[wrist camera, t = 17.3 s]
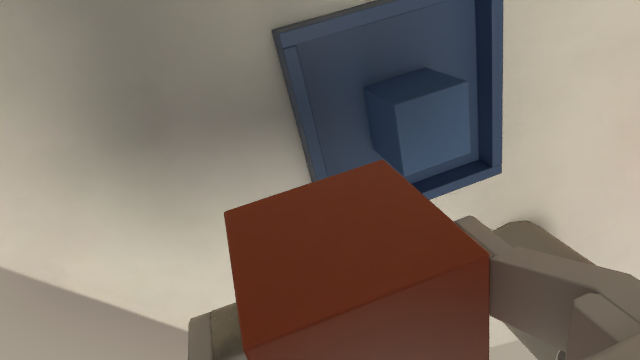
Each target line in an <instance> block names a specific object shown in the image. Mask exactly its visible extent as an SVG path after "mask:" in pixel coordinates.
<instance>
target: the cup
mask: <svg viewBox="0 0 640 360" xmlns="http://www.w3.org/2000/svg"><path fill="white" fill-rule="evenodd" d="M493 232H494V233H495V234H496V235H498V236H499V237H500V238H501V239H503V240H504V241H505V242H506V243H508V244H509V245H510V246H511V247H513V248H514V249H515V248H517V247H522V248H526V249H530V250H534V251H538V252H543V253H547V254H551V255H555V256H559V257H563V258H567V259H571V260H575V261H579V262H583V263H587V264H591V265H595V264H593V263H592V262H591V261H589V260H588V259H586V258H585V257H583V256H582V255H580V254H579V253H577V252H576V251H574V250H573V249H572V248H570V247H569V246H567V245H566V244H564V243H563V242H561V241H560V240H558V239H557V238H555V237H554V236H552V235H551V234H550V233H548V232H547V231H545V230H544V229H542V228H541V227H539V226H537V225H535V224H533V223H531V222H529V221H520V222H511V223H508V224H506V225H504V226H503V227H501V228H499V229H497V230H495V231H493ZM595 266H596V265H595ZM503 323H504V322H503ZM504 324H505V325H506V326H507V327H508V328H509V329H510V330H511V331H512V332H513V333H514V335H515V336H516V337H517V338H518V339H519V340H520V341H521V342H522V343H523V344H524V345H525V346H526V347H527V348H528V349H529V351H530V352H531V353H532V354H533V355H534V356H535V357H536V358H537V359H538V360H565V356H566V352H564V351H562V350H560V349H558V348H556V347H554V346H552V345H549V344H547V343H545V342H543V341H541V340H539V339H537V338H535V337H533V336H531V335H529V334H527V333H525V332H523V331H521V330H519V329H517V328H515V327H512V326H510V325H508V324H506V323H504Z"/></svg>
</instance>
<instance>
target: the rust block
mask: <svg viewBox="0 0 640 360" xmlns="http://www.w3.org/2000/svg"><path fill="white" fill-rule="evenodd" d="M224 218H225V225H226V232H227V239H228V246H229V254H230V261H231V268H232V275H233V282H234V289H235V296H236V304H237V311H238V318H239V325H240V332H241V339H242V347H243V351H244V353H245V355H246V357H247V360H489V253H488V252H487V251H486V250H485V249H484V248H482V247H481V246H480V245H479V244H478V243H477V242H476V241H475V240H473V239H472V238H471V237H470V236H469V235H468V234H467V233H466V232H464V231H463V230H462V229H461V228H460V227H459V226H458V225H457V224H455V223H454V222H453V221H452V220H451V219H450V218H449V217H448V216H446V215H445V214H444V213H443V212H442V211H441V210H440V209H439V208H437V207H436V206H435V205H434V204H433V203H432V202H431V201H430V200H428V199H427V198H426V197H425V196H424V195H423V194H422V193H421V192H419V191H418V190H417V189H416V188H415V187H414V186H413V185H412V184H410V183H409V182H408V181H407V180H406V179H405V178H404V177H403V176H401V175H400V174H399V173H398V172H397V171H396V170H395V169H393V168H392V167H391V166H390V165H389V164H388V163H387V162H386V161H384V160H379V161H376V162H373V163H370V164H367V165H364V166H361V167H358V168H355V169H352V170H349V171H346V172H343V173H340V174H337V175H334V176H330V177H327V178H324V179H321V180H318V181H315V182H312V183H309V184H306V185H303V186H300V187H297V188H294V189H291V190H288V191H285V192H282V193H279V194H276V195H273V196H270V197H267V198H264V199H261V200H258V201H255V202H252V203H249V204H246V205H243V206H240V207H237V208H234V209H231V210H228V211H225V212H224Z"/></svg>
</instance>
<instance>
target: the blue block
mask: <svg viewBox="0 0 640 360" xmlns="http://www.w3.org/2000/svg"><path fill="white" fill-rule="evenodd" d="M363 90H364V95H365V101H366V107H367V113H368V119H369V125H370V131H371V137H372V143H373V148H374V150H375V151H376V152H377V153H378V154H379V155H380V156H381V157H383V158H384V159H385V160H386V161H387V162H388V163H389V164H391V165H392V166H393V167H394V168H395V169H396V170H397V171H398V172H400V173H401V174H402V175H403V176H407V175H410V174H412V173H415V172H418V171H421V170H424V169H426V168H429V167H432V166H435V165H438V164H440V163H443V162H446V161H449V160H452V159H454V158H457V157H460V156H463V155H466V154H469V153H470V123H469V95H468V81H465V80H462V79H459V78H456V77H453V76H450V75H447V74H444V73H441V72H438V71H435V70H432V69H429V68H423V69H420V70H417V71H413V72H410V73H407V74H404V75H401V76H397V77H394V78H391V79H388V80H385V81H381V82H378V83H375V84H372V85H369V86H365V87H363Z"/></svg>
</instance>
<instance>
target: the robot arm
mask: <svg viewBox="0 0 640 360" xmlns="http://www.w3.org/2000/svg"><path fill="white" fill-rule="evenodd" d="M454 223H455V224H457V225H458V226H459V227H460V228H461V229H462V230H463V231H464V232H466V233H467V234H468V235H469V236H470V237H471V238H472V239H473V240H475V241H476V242H477V243H478V244H479V245H480V246H481V247H482V248H484V249H485V250H486V251H487V252H488V253H489V314H490V316H492V317H494V318H496V319H498V320H500V321H502V322H504V323H506V324H508V325H510V326H512V327H515V328H517V329H519V330H521V331H523V332H525V333H527V334H529V335H531V336H533V337H535V338H537V339H539V340H541V341H543V342H545V343H547V344H549V345H552V346H554V347H556V348H558V349H560V350H562V351H564V352H566V356H565V360H640V281H639V280H638V279H636V278H635V277H633V276H632V275H630V274H627V273H623V272H619V271H615V270H611V269H607V268H603V267H599V266H595V265H591V264H587V263H583V262H579V261H575V260H571V259H567V258H563V257H559V256H555V255H551V254H547V253H543V252H538V251H534V250H530V249H526V248H522V247H517V248H515V249H514V248H513V247H511V246H510V245H509V244H508V243H506V242H505V241H504V240H503V239H501V238H500V237H499V236H498V235H496V234H495V233H494V232H493V231H491V230H490V229H489V228H487V227H486V226H485V225H484V224H482V223H481V222H480V221H479V220H477V219H476V218H475V217H473V216H470V215H469V216H467V217H464V218H461V219H459V220H456V221H454ZM188 360H247V357H246V355H245V353H244V351H243V347H242V339H241V332H240V325H239V318H238V311H237V304H236V303H233V304H230V305H228V306H225V307H222V308H219V309H216V310H213V311H211V312H209V313H206V314H203V315H200V316H197V317H194V318H191V319H190V322H189V331H188Z"/></svg>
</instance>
